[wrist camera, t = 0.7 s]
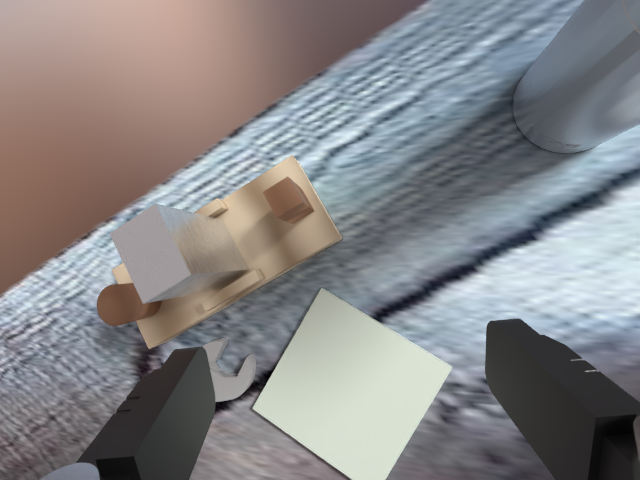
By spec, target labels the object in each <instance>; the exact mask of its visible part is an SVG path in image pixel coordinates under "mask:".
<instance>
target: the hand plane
mask: <svg viewBox="0 0 640 480" xmlns="http://www.w3.org/2000/svg"><path fill="white" fill-rule="evenodd" d="M195 213H196V214H201V215H205V216H209V217H213V218H217V219H222V220H223V221H224V223H225V225H226V227H227V228H228V230H229V232H230V234H231V236H232V238H233V240H234V242H235V244H236V245H237V247H238V249H239V251H240V253H241V255H242V257H243V259H244V261H245V262H246V264H247V266H248V268H249V270H247V271H245V272H244V273H242V274H240V275H239V276H237V277H235V278H234V279H232V280H230V281H229V282H227V283H225V284H224V285H222V286H220V287H219V288H217V289H215V290H211V291H206V292H201V293H196V294H191V295H186V296H181V297H176V298H170V299H165V300H160V301H155V302H150V303H145V304H143V303H142V301H141V298H140V296H139V294H138V292H137V290H136V288H135V286H134V284H133V282H132V280H131V277H130V275H129V273H128V271H127V269H126V267H125V265H124V263H122V264H121V265H119V266H117V267H116V268H114V269H113V270H112V272H113V274H114V276H115V278H116V280H117V283H118V284H116V285H110V286H108V287H106V288H105V289H103V290H102V292H101V293H100V295H99V297H98V300H97V311H98V314H99V316H100V318H101V319H102V320H103V321H104V322H105V323H107V324H109V325H112V326H117V325H121V324H125V323H129V322H133V321H136V323H137V325H138V327H139V329H140V332H141V334H142V336H143V338H144V340H145V342H146V344H147V347H148V349H151V348H154V347H156V346H159V345H161V344H164V343H166V342H168V341H170V340H172V339H173V338H175V337H177V336H178V335H180V334H182V333H184V332H185V331H187V330H189V329H190V328H192V327H194V326H196V325H197V324H199V323H201V322H202V321H204V320H206V319H207V318H209V317H211V316H213V315H214V314H216V313H218V312H219V311H221V310H223V309H225V308H226V307H228V306H230V305H231V304H233V303H235V302H236V301H238V300H240V299H242V298H243V297H245V296H247V295H248V294H250V293H252V292H254V291H255V290H257V289H259V288H260V287H262V286H264V285H265V284H267V283H269V282H271V281H272V280H274V279H276V278H277V277H279V276H281V275H283V274H284V273H286V272H288V271H289V270H291V269H293V268H294V267H296V266H298V265H300V264H301V263H303V262H305V261H306V260H308V259H310V258H312V257H313V256H315V255H317V254H318V253H320V252H322V251H323V250H325V249H327V248H329V247H330V246H332V245H334V244H335V243H337V242H339V241H341V240H342V239H343V238H342V236H341V234H340V232H339V231H338V229H337V227H336V225H335V224H334V222H333V220H332V219H331V217H330V215H329V213H328V212H327V210H326V208H325V207H324V205H323V203H322V201H321V200H320V198H319V196H318V194H317V193H316V191H315V189H314V188H313V186H312V184H311V182H310V181H309V179H308V177H307V176H306V174H305V172H304V170H303V169H302V167H301V165H300V164H299V162H298V161H297V160H296V159H295V158H294V157H293V155H292V156H290V157H289V158H287V159H286V160H284V161H283V162H281V163H279V164H278V165H276V166H275V167H273V168H272V169H270V170H268V171H267V172H265V173H264V174H262V175H261V176H259V177H257V178H256V179H254V180H253V181H251V182H250V183H248V184H246V185H245V186H243V187H242V188H240V189H238V190H237V191H235V192H234V193H232V194H231V195H229V196H227V197H226V198H224V199H223V200H220V199H215V200H213V201H212V202H210V203H209V204H207V205H206V206H204V207H202V208H201V209H199V210H198V211H196V212H195Z"/></svg>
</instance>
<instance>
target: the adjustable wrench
mask: <svg viewBox="0 0 640 480" xmlns="http://www.w3.org/2000/svg"><path fill="white" fill-rule="evenodd" d="M228 341H229V340H228V339H227V338H219V339H216V340H213V341H211V342H209V343H207V344H205V345H203V346H202V347H203V348H204V349H205V350H206V353H207V357H208V362H209V366H210V371H211V376H212V381H213V386H214V391H215V400H216V401H215V402H220V401H226V400H232V399H235V398H237V397H239V396H240V395H241V394H243V393H244V392H245V391H246V390H247V389H248V388H249V386H250V385H251V383H252V382H253V380H254V377H255V374H256V360H255V357H254V355H253V354H252V353H251V354H250V355H249V356H247V357H246V359H245V361H244V364H243V366H242V368H241V370H240V372H239V373H227V372H225V371H224V370H222V369H221V368H219V366H218V364H217V360H219V359H220V357H221V355H222V353H223V351H224V349H225V347H226V345H227V343H228Z"/></svg>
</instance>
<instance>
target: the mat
mask: <svg viewBox="0 0 640 480" xmlns="http://www.w3.org/2000/svg"><path fill="white" fill-rule="evenodd" d="M451 369H452V367H451V366H450V365H449V364H447V363H446V362H444V361H442V360H441V359H439V358H437V357H436V356H434V355H432V354H431V353H429V352H427V351H426V350H424V349H423V348H421V347H419V346H418V345H416V344H414V343H413V342H411V341H409V340H408V339H406V338H404V337H403V336H401V335H399V334H398V333H396V332H395V331H393V330H391V329H390V328H388V327H386V326H385V325H383V324H381V323H380V322H378V321H376V320H375V319H373V318H372V317H370V316H368V315H367V314H365V313H363V312H362V311H360V310H358V309H357V308H355V307H353V306H352V305H350V304H348V303H347V302H345V301H344V300H342V299H340V298H339V297H337V296H335V295H334V294H332V293H330V292H329V291H327V290H325V289H324V288H321V290H320V291H319V293H318V295H317V296H316V298H315V300H314V302H313V303H312V305H311V307H310V309H309V310H308V312H307V314H306V316H305V317H304V319H303V321H302V323H301V324H300V326H299V328H298V330H297V331H296V333H295V335H294V337H293V338H292V340H291V342H290V344H289V345H288V347H287V349H286V351H285V352H284V354H283V356H282V358H281V359H280V361H279V363H278V364H277V366H276V368H275V370H274V371H273V373H272V375H271V377H270V378H269V380H268V382H267V384H266V385H265V387H264V389H263V391H262V392H261V394H260V396H259V398H258V399H257V401H256V403H255V405H254V406H253V408H252V409H254V410H255V411H256V412H258V413H259V414H261V415H262V416H263V417H265V418H266V419H268V420H269V421H270V422H272V423H273V424H275V425H276V426H277V427H279V428H280V429H282V430H283V431H284V432H286V433H287V434H289V435H290V436H291V437H293V438H294V439H296V440H297V441H298V442H300V443H301V444H303V445H304V446H305V447H307V448H308V449H310V450H311V451H312V452H314V453H315V454H317V455H318V456H319V457H321V458H322V459H324V460H325V461H327V462H328V463H329V464H331V465H332V466H334V467H335V468H336V469H338V470H339V471H341V472H342V473H343V474H345V475H346V476H348V477H349V478H350V479H352V480H385V479H386V477H387V476H388V474H389V472H390V471H391V469H392V467H393V466H394V464H395V462H396V461H397V459H398V457H399V456H400V454H401V452H402V451H403V449H404V447H405V446H406V444H407V442H408V441H409V439H410V437H411V436H412V434H413V432H414V431H415V429H416V427H417V426H418V424H419V422H420V421H421V419H422V417H423V416H424V414H425V412H426V411H427V409H428V407H429V406H430V404H431V402H432V401H433V399H434V397H435V396H436V394H437V392H438V391H439V389H440V387H441V386H442V384H443V382H444V381H445V379H446V377H447V376H448V374H449V372H450V371H451Z"/></svg>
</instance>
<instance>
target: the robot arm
mask: <svg viewBox="0 0 640 480" xmlns="http://www.w3.org/2000/svg"><path fill="white" fill-rule="evenodd" d="M512 107H513V114H514V118H515V121H516V124H517V126H518V128H519V129H520V131H521V132H522V133H523V135H524V136H525V137H526V138H527V139H528V140H530V141H531V142H532V143H534V144H535V145H537V146H539V147H540V148H543V149H546V150H549V151H551V152H558V153H576V152H580V151H585V150H588V149H590V148H593V147H595V146H597V145H599V144H601V143H603V142H605V141H607V140H609V139H611V138H613V137H615V136H617V135H619V134H621V133H623V132H625V131H627V130H629V129H631V128H633V127H635V126H637V125H639V124H640V0H584V1H583V2H582V4H581V5H580V6H579V7H578V9H577V10H576V11H575V12H574V14H573V15H572V16H571V17H570V19H569V20H568V21H567V22H566V24H565V25H564V26H563V27H562V29H561V30H560V31H559V32H558V34H557V35H556V36H555V37H554V39H553V40H552V41H551V42H550V44H549V45H548V46H547V47H546V48H545V50H544V51H543V52H542V53H541V55H540V56H539V57H538V58H537V60H536V61H535V62H534V63H533V65H532V66H531V67H530V68H529V70H528V71H527V72H526V73H525V75H524V76H523V77H522V79H521V80H520V82H519V84H518V85H517V87H516V90H515V93H514V96H513V106H512ZM485 373H486V378H487V382H488V385H489V388H490V390H491V392H492V393H493V395H494V396H495V398H496V399H497V400H498V402H499V403H500V404H501V406H502V407H503V409H504V410H505V411H506V413H507V414H508V415H509V417H510V418H511V419H512V421H513V422H514V424H515V425H516V426H517V428H518V429H519V430H520V432H521V433H522V435H523V436H524V437H525V439H526V440H527V441H528V443H529V444H530V445H531V447H532V448H533V450H534V451H535V452H536V454H537V455H538V456H539V458H540V459H541V460H542V462H543V463H544V465H545V466H546V467H547V469H548V470H549V471H550V473H551V474H552V476H553V477H554V478H555V480H640V402H638V401H637V400H636V399H635V398H633V397H632V396H631V395H629V394H628V393H627V392H625V391H624V390H623V389H622V388H620V387H619V386H618V385H616V384H615V383H614V382H613V381H611V380H610V379H609V378H607V377H606V376H605V375H603V374H602V373H601V372H597V371H596V368H594V367H593V366H592V365H591V364H589V363H588V362H587V361H585V360H584V361H583V360H582V358H581V357H580V356H579V355H578V354H576V353H575V352H574V351H572V350H571V349H570V348H569V347H567V346H566V345H564V344H562V343H560V342H558V341H556V340H553V339H551V338H549V337H547V336H545V335H539V334H538V333H537V332H536V331H535V330H533V329H532V328H531V327H530V326H528V325H527V324H526V323H525V322H524V321H522V320H521V319H508V320H497V321H490V322H489V323H488V325H487V331H486V361H485ZM215 401H216V400H215V391H214V386H213V381H212V376H211V371H210V366H209V362H208V357H207V353H206V350H205V349H204V348H203V347H195V348H184V349H176V350H174V351H173V352H172V354H171V355H170V356H169V358H168V359H167V360H166V362H165V363H164V365H163V366H162V367H161V369H155V370H154V371H153V372H151V373H150V374H149V375H147V376H146V377H145V378H144V379H142V380H141V381H140V382H138V383H137V385H136V386H135V387H134V389H133V390H132V391H131V392H130V394H129V395H128V396H127V399H126V401H124V402H123V403H122V404H121V405H120V407H119V408H118V409H117V412H116V414H113V416H112V417H111V418H110V420H109V421H108V422H107V423H106V425H105V426H104V427H103V429H102V430H101V431H100V433H99V434H98V435H97V436H96V438H95V439H94V440H93V442H92V443H91V444H90V445H89V447H88V448H87V449H86V451H85V452H84V453H83V454H82V456H81V457H80V458H79V460H78V461H77V462H76V463H75V464H71V465H67V466H64V467H61V468H59V469H57V470H55V471H52V472H51V473H49V474H47V475H45V476H44V477H42V478H40V479H39V480H189V478H190V476H191V473H192V471H193V468H194V465H195V463H196V460H197V458H198V455H199V453H200V450H201V447H202V445H203V442H204V440H205V437H206V435H207V432H208V429H209V427H210V424H211V422H212V419H213V416H214V412H215Z"/></svg>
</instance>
